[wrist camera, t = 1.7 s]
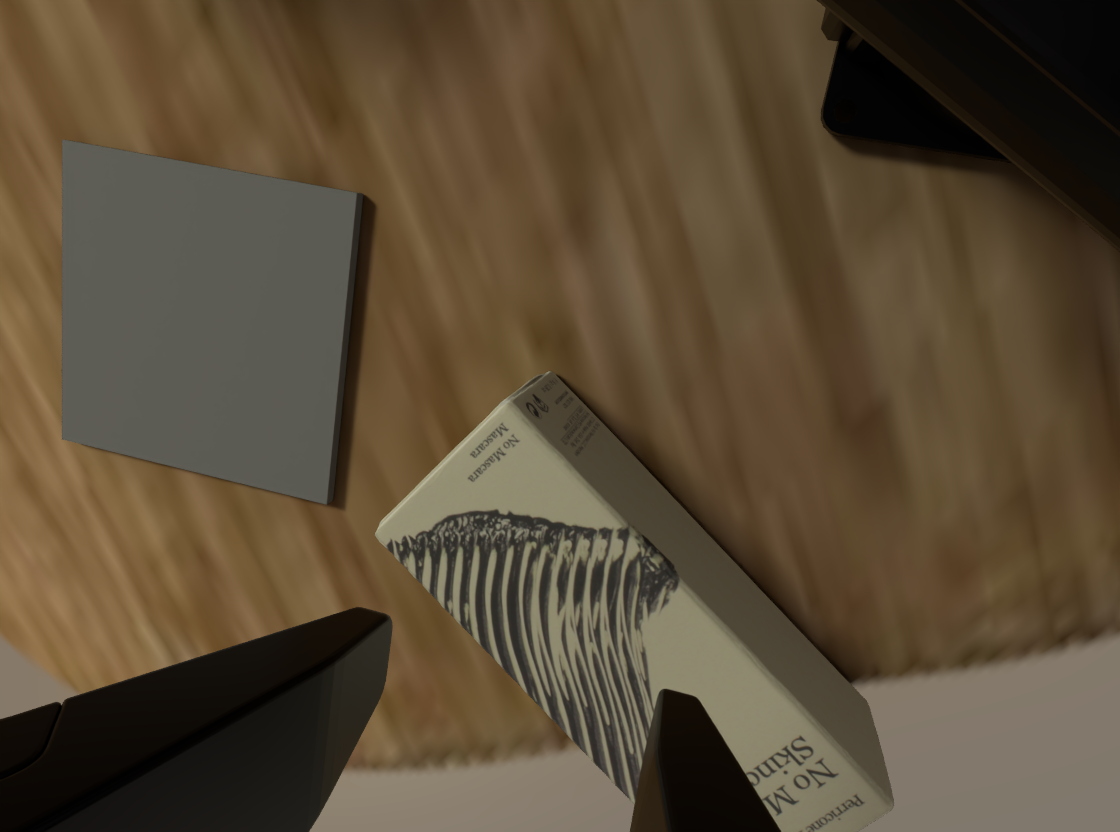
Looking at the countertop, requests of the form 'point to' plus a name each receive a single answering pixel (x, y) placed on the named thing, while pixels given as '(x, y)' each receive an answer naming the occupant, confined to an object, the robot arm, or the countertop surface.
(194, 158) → the countertop surface
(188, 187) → the mat
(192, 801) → the robot arm
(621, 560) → the box
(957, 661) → the countertop surface
